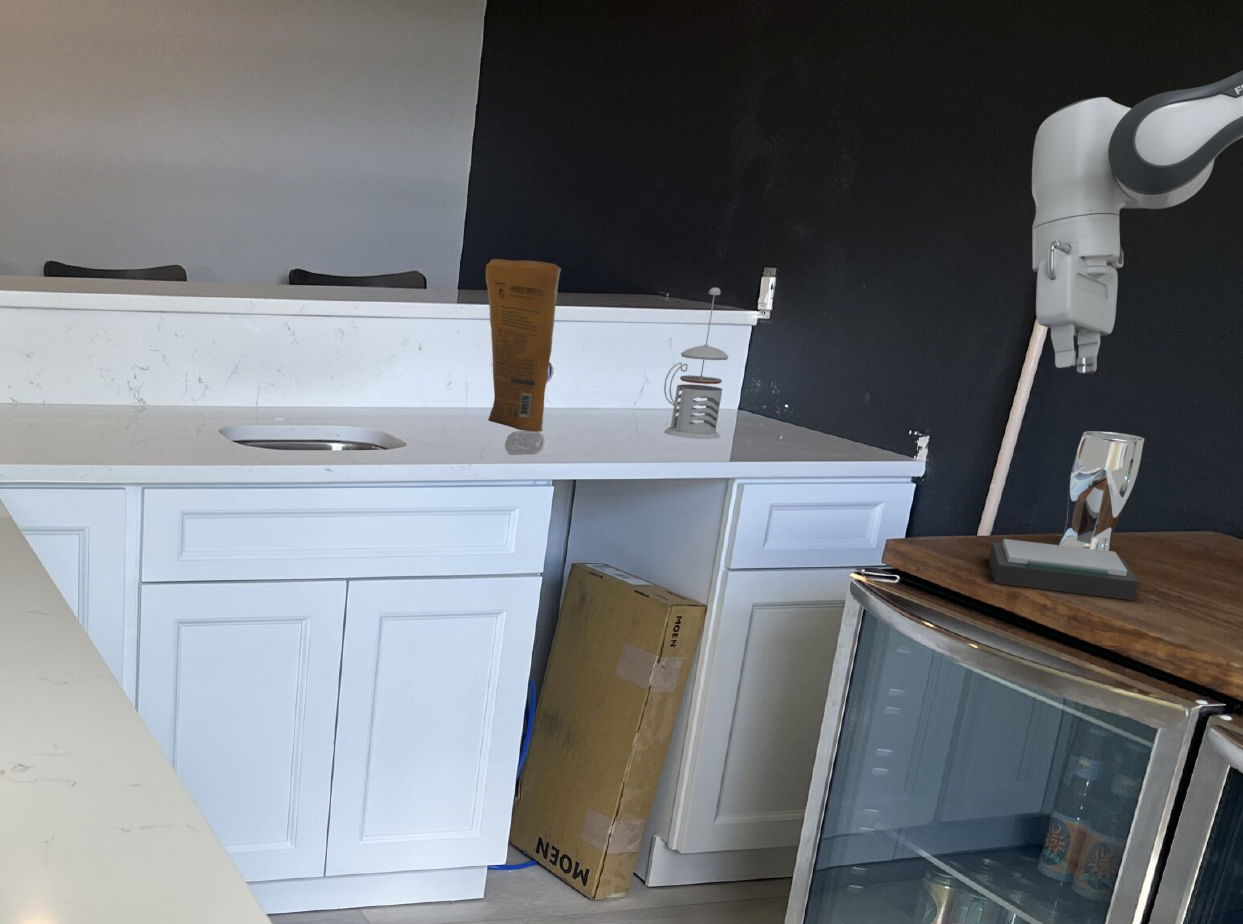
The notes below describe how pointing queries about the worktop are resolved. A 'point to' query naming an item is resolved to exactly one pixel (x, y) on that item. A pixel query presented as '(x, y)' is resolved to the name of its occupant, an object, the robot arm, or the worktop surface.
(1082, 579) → the kitchen scale
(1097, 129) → the robot arm
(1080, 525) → the beer glass
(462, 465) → the worktop surface
